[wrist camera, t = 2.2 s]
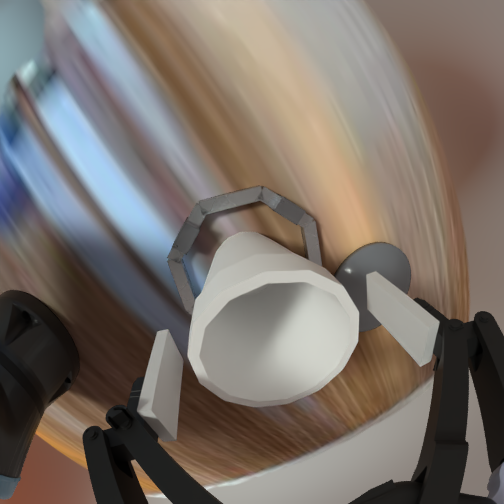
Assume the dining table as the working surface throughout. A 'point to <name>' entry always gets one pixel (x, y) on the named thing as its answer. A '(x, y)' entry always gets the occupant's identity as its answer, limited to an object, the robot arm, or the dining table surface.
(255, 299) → the foam cup
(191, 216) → the collar
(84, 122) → the dining table surface
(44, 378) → the robot arm
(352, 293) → the coaster
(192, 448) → the dining table surface
